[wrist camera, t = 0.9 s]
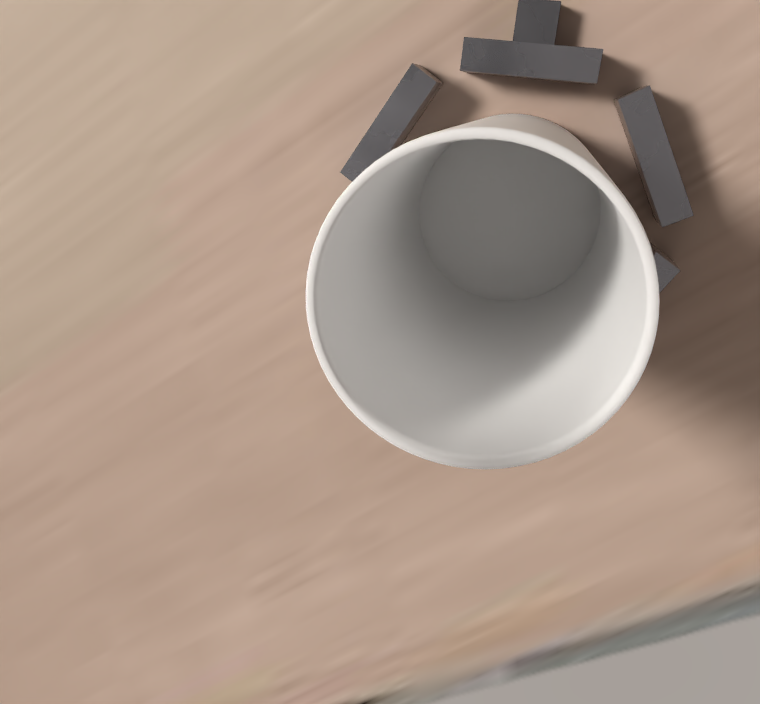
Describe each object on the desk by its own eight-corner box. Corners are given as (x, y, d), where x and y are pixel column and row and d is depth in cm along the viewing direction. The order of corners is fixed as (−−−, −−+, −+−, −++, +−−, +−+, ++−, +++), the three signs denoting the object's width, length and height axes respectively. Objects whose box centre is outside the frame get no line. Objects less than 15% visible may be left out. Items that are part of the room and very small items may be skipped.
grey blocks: (365, -11, 30) (353, -18, 28) (729, 17, 28) (742, 11, 26) (336, 364, 36) (325, 378, 34) (635, 414, 33) (641, 432, 31)
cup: (630, 133, 30) (714, 167, 15) (578, 322, 32) (603, 507, 18) (433, 97, 31) (328, 94, 16) (399, 283, 34) (284, 425, 19)
